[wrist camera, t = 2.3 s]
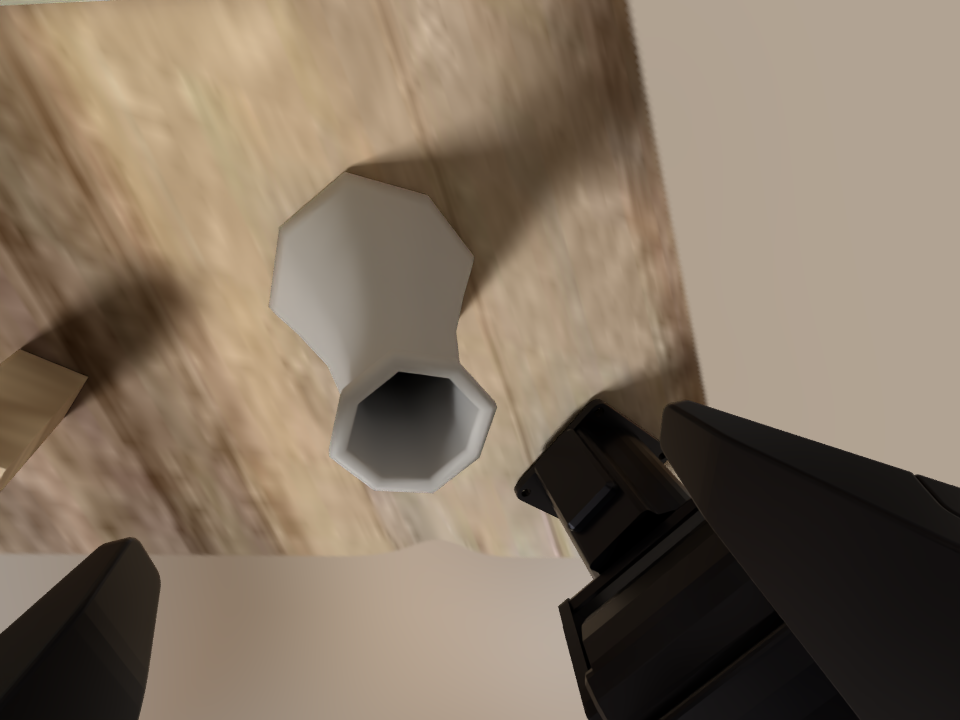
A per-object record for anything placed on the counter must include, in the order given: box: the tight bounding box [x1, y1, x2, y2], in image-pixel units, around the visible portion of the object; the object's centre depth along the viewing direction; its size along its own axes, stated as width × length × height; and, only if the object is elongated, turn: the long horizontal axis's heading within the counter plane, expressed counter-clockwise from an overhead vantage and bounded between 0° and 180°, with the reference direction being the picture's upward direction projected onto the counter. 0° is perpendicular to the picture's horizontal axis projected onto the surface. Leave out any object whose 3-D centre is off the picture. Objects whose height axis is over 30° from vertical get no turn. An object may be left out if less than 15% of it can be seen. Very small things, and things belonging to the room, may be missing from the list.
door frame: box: [0, 349, 88, 492], centre depth 13 cm, size 2×19×5 cm, turn 139°
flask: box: [269, 172, 497, 493], centre depth 14 cm, size 7×7×10 cm
